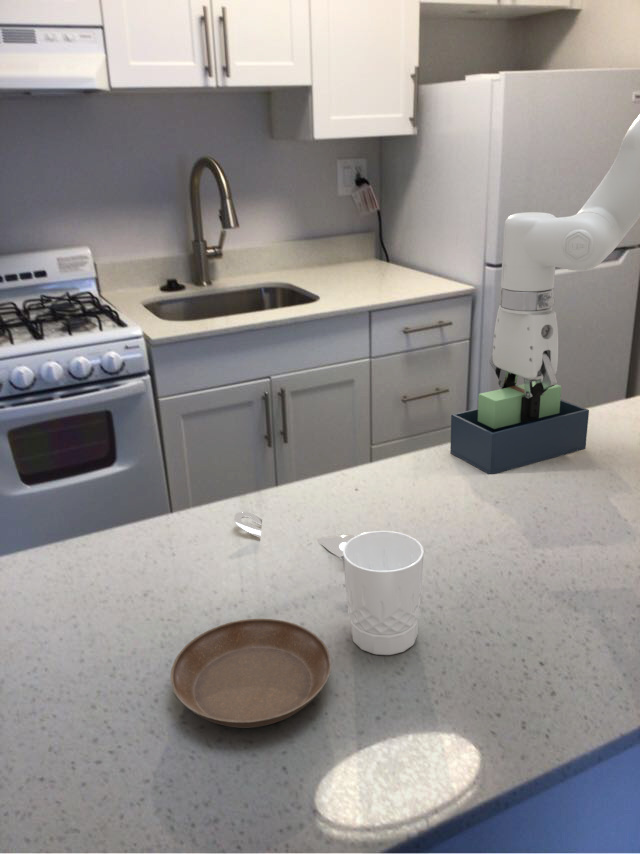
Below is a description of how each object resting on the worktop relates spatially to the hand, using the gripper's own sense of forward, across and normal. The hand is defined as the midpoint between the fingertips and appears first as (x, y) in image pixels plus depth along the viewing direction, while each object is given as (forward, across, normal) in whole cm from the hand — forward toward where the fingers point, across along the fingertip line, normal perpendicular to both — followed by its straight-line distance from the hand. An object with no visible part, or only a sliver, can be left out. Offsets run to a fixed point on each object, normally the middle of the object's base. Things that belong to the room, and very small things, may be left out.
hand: (519, 414), depth 118 cm
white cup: (+6, -30, +43) cm, 53 cm away
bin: (+6, 0, 0) cm, 6 cm away
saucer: (+6, -31, +58) cm, 66 cm away
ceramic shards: (+7, -9, +43) cm, 44 cm away
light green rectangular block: (0, 0, 0) cm, 0 cm away
